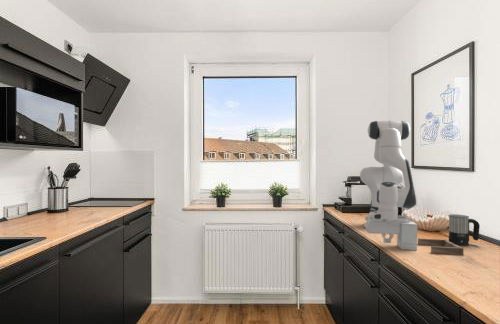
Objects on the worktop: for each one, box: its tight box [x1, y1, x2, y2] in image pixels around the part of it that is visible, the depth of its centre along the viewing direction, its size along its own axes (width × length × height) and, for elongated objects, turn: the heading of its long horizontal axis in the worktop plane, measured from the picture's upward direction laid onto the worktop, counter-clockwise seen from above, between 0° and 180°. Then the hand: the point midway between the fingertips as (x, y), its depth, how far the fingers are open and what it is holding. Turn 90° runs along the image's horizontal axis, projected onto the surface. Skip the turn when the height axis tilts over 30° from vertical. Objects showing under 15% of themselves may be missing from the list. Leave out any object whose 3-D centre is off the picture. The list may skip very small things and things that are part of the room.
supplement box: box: [396, 221, 418, 251], centre depth 154 cm, size 7×7×13 cm
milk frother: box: [448, 213, 480, 246], centre depth 168 cm, size 14×16×15 cm
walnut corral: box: [417, 237, 465, 256], centre depth 153 cm, size 16×14×3 cm
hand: (387, 242), depth 155 cm, fingers closed
